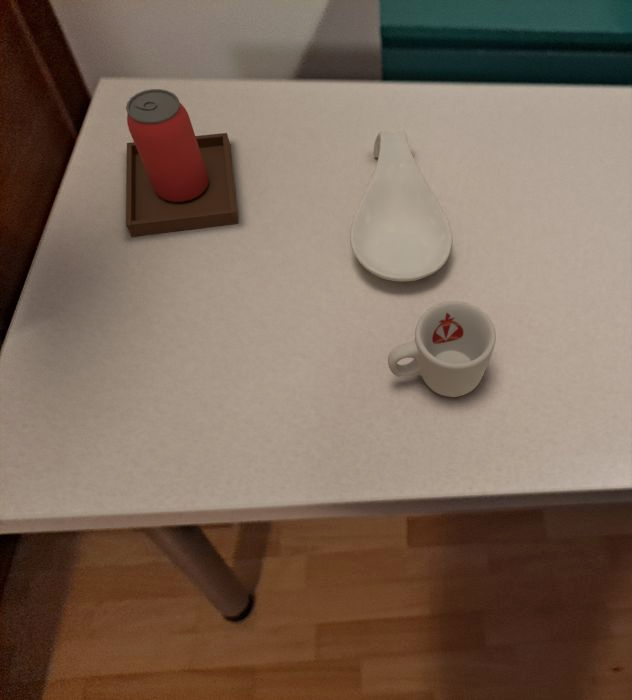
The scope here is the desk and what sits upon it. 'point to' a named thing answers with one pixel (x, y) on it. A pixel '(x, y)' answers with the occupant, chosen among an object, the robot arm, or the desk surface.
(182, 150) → the beer can
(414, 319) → the desk surface
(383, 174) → the spoon rest
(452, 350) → the cup
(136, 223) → the tray
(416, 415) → the desk surface
